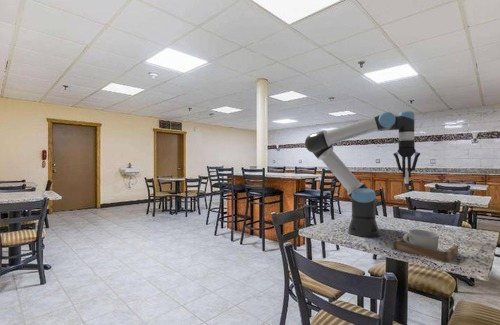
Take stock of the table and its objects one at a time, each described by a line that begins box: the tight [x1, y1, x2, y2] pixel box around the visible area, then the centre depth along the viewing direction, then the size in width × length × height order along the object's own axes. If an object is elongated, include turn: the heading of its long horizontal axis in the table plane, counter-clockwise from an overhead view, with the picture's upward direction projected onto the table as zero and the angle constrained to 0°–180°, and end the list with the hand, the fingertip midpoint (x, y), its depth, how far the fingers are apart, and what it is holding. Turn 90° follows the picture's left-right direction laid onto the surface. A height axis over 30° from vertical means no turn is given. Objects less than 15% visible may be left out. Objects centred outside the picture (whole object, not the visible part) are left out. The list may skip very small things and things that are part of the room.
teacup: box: [402, 228, 440, 250], centre depth 114 cm, size 14×11×8 cm
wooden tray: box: [393, 236, 459, 263], centre depth 112 cm, size 13×19×4 cm
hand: (406, 183), depth 145 cm, fingers closed
